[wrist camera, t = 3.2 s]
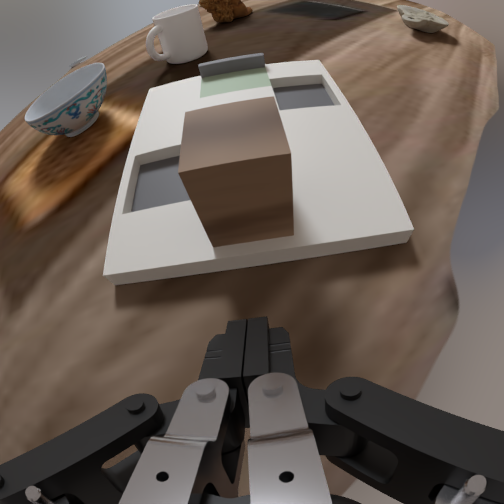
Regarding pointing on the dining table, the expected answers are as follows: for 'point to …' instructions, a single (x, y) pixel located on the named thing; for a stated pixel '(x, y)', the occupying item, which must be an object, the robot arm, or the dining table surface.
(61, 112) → the chinaware
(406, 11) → the oil lamp
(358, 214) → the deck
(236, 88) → the pad
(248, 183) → the block
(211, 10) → the stuffed squirrel
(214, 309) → the dining table surface
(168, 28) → the mug
